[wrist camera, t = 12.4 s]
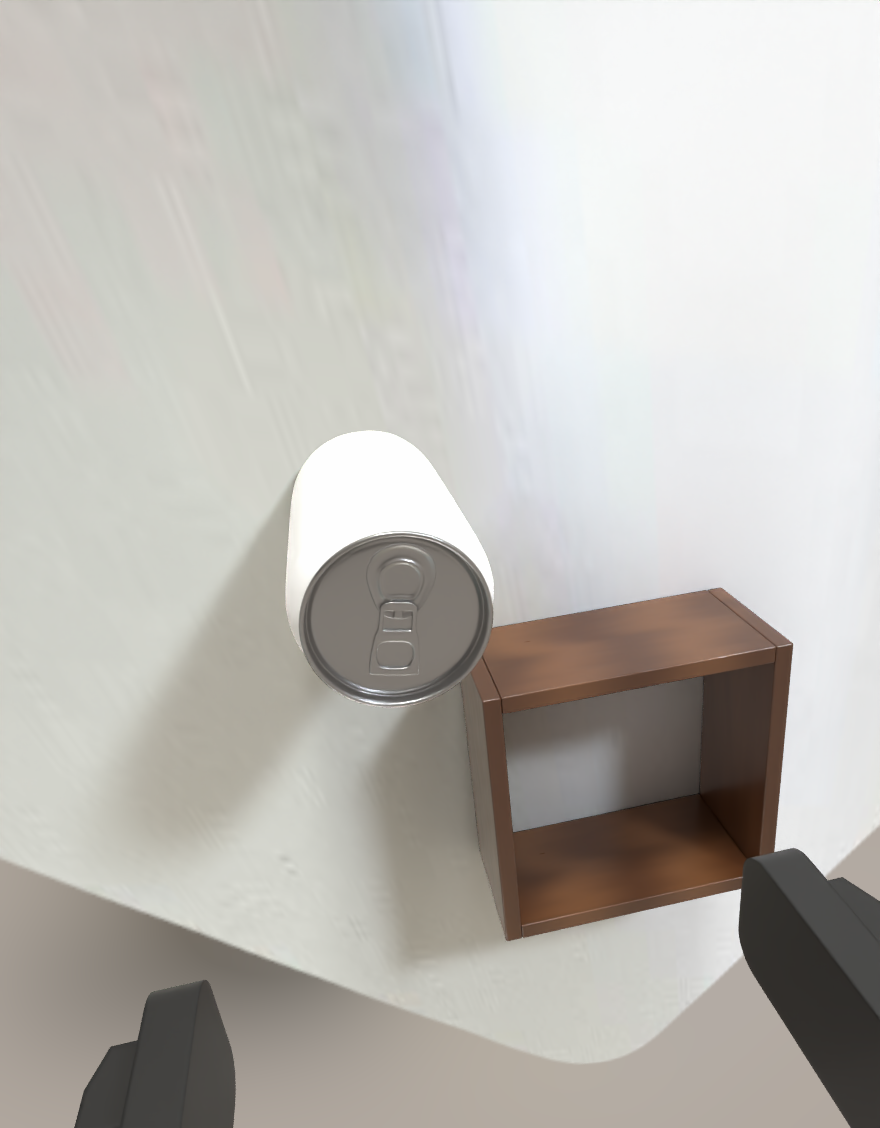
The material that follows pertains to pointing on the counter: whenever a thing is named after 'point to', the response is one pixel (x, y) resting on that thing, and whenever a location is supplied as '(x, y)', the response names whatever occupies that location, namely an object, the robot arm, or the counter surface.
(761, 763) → the crate
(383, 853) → the counter surface
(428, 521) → the can
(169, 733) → the counter surface
